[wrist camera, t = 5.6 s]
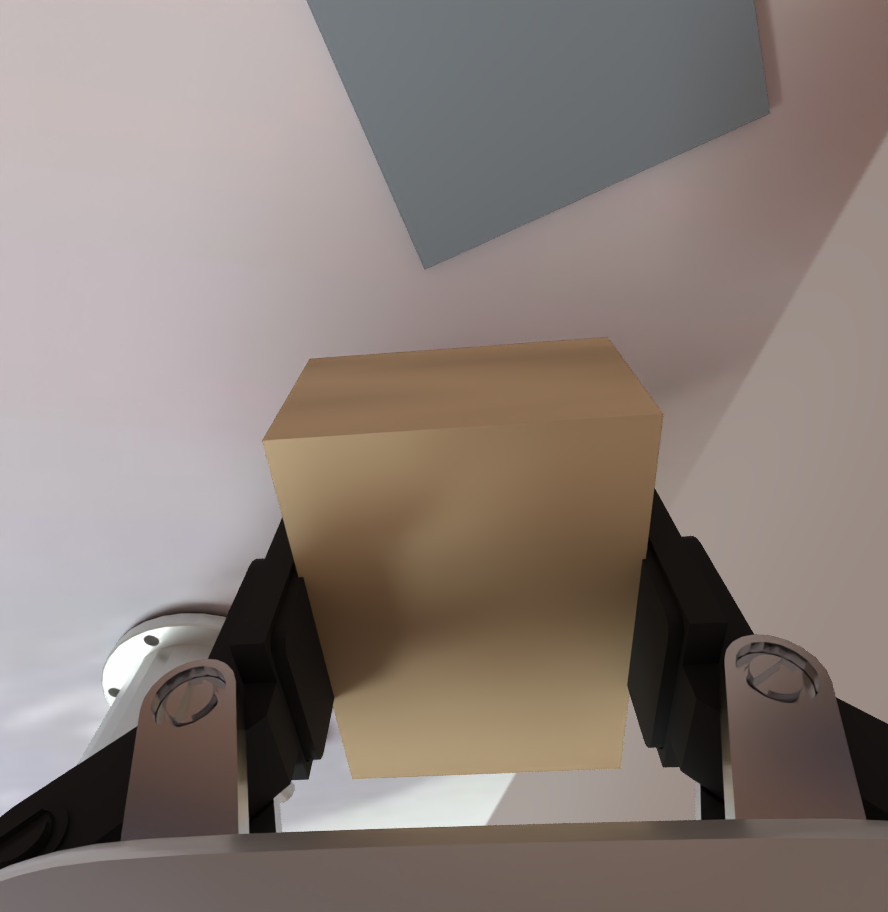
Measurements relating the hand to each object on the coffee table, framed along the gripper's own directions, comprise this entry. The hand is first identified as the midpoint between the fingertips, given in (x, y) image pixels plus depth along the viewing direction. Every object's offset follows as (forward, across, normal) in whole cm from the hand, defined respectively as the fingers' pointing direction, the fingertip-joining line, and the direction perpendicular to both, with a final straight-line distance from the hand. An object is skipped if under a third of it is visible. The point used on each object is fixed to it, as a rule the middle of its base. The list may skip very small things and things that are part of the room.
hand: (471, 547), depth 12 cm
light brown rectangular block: (+1, 0, 0) cm, 1 cm away
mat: (+16, -3, -11) cm, 20 cm away
